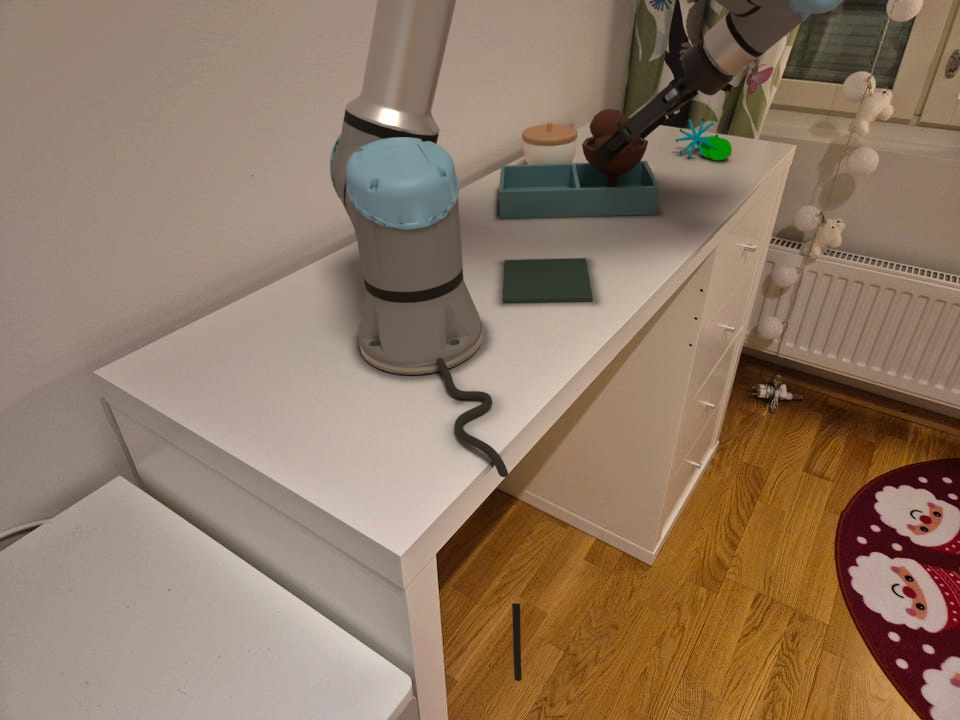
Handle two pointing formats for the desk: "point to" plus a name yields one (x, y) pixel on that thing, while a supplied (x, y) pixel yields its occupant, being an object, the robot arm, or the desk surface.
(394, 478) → the desk surface
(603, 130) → the ice cream bowl
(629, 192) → the divided tray
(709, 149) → the stick construction toy
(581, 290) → the mat
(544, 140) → the trinket box
